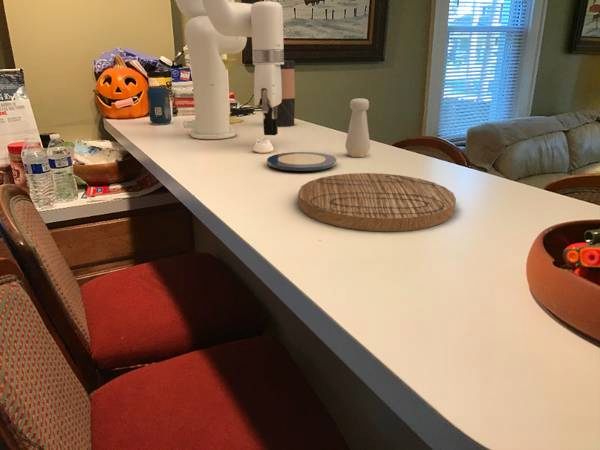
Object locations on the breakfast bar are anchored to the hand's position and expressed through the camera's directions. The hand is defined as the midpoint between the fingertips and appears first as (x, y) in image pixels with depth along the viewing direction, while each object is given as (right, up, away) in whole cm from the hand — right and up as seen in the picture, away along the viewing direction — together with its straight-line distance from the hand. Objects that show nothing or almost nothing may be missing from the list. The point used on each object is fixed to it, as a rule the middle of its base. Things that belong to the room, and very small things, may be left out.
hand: (270, 134), depth 120 cm
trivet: (+20, -20, -43) cm, 51 cm away
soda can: (-39, +11, +38) cm, 56 cm away
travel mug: (+2, +10, +35) cm, 36 cm away
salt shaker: (+21, -7, -9) cm, 24 cm away
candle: (-18, +13, +43) cm, 48 cm away
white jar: (-2, -5, -4) cm, 7 cm away
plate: (+8, -10, -18) cm, 22 cm away
